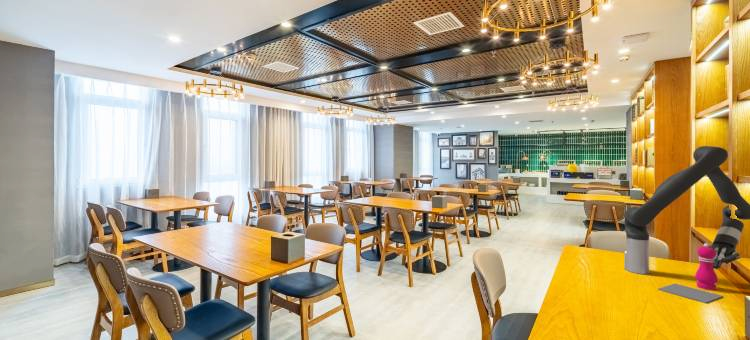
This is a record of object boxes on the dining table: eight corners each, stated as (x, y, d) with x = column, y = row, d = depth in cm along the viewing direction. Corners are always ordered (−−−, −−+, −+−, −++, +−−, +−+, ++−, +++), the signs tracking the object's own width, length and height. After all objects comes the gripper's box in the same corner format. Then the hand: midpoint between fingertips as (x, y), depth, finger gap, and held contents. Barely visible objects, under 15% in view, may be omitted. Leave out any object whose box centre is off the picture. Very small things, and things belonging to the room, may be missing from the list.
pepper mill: (722, 291, 143) (722, 245, 142) (703, 290, 144) (703, 245, 144) (709, 285, 150) (709, 241, 149) (690, 284, 151) (691, 241, 151)
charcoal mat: (657, 289, 145) (657, 288, 145) (675, 284, 151) (675, 283, 151) (706, 303, 131) (706, 302, 131) (723, 297, 137) (723, 295, 137)
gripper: (705, 230, 160) (693, 259, 155) (744, 236, 148) (732, 266, 143) (711, 240, 162) (698, 268, 157) (749, 246, 150) (737, 277, 145)
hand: (714, 267), depth 150 cm, fingers closed
